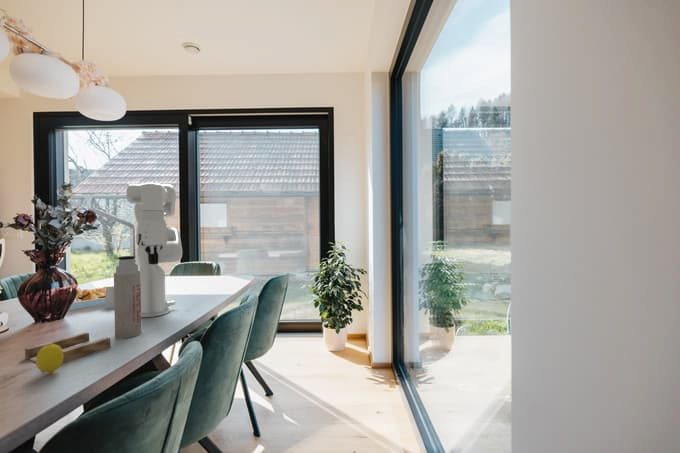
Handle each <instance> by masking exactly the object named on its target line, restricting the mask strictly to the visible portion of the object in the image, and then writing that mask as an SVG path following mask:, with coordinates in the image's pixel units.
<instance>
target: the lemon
mask: <svg viewBox="0 0 680 453" xmlns="http://www.w3.org/2000/svg"><path fill="white" fill-rule="evenodd" d="M63 358H64V354H63V350H62V348H61V347H60V346H58V345H55V344H52V343H49V344H48V345H46V346H44V347H43V348H42V349H41V350H40V351H39V352H38V354H37V357H36V362H35V364H36V368H37V369H38V370H39V371H40V372H42V373H47V374H49V375H50V374H53V372H55V371H56V370H57V369H58V368H59V369H60V367H61V366H62V364H63V363H62V362H63Z"/></svg>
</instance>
